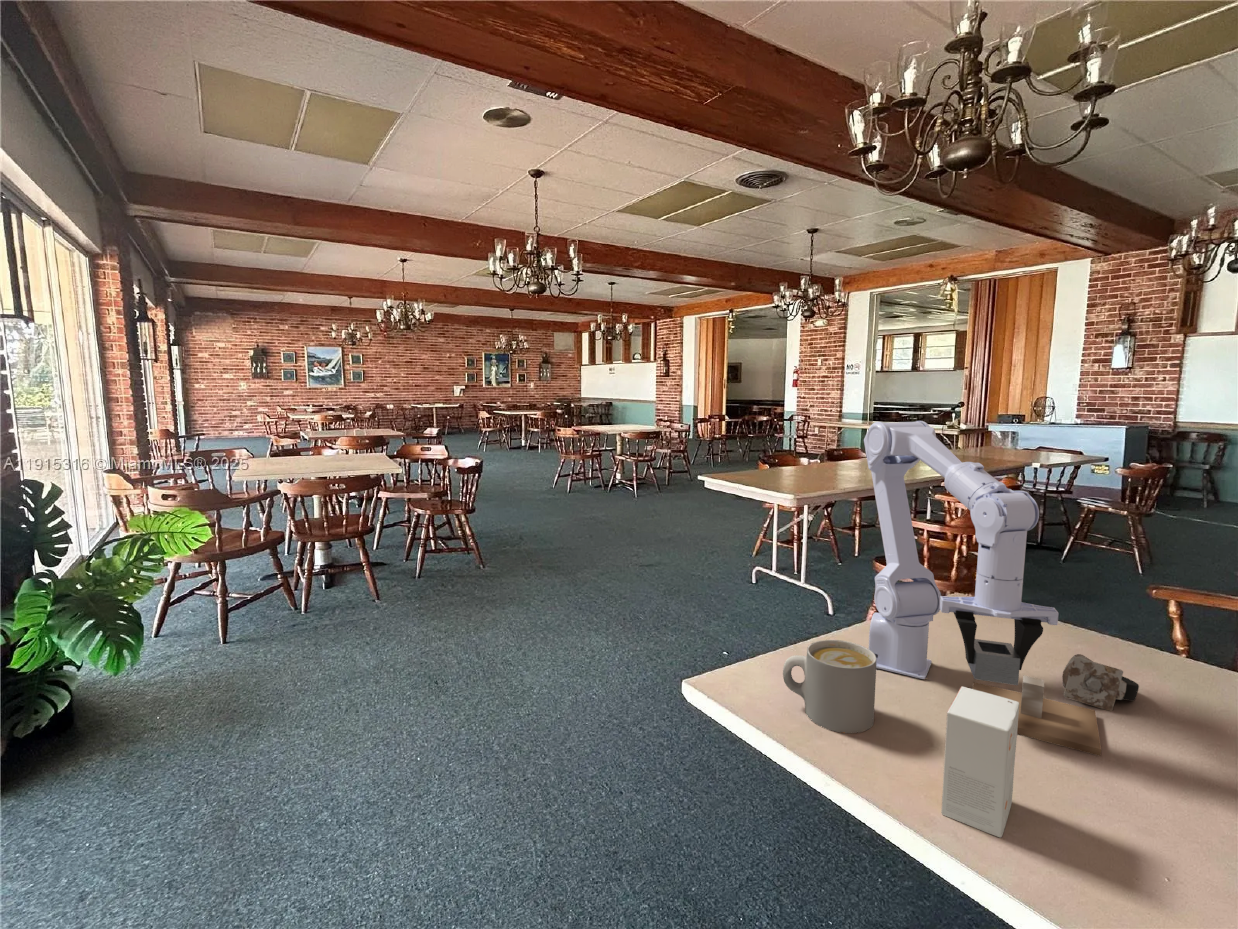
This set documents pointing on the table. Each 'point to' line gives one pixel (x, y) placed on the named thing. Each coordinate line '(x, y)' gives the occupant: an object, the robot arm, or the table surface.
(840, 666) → the coffee mug
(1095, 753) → the post board
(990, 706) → the small box
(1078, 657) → the caster wheel
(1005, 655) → the square hub
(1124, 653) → the table surface
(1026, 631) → the robot arm
